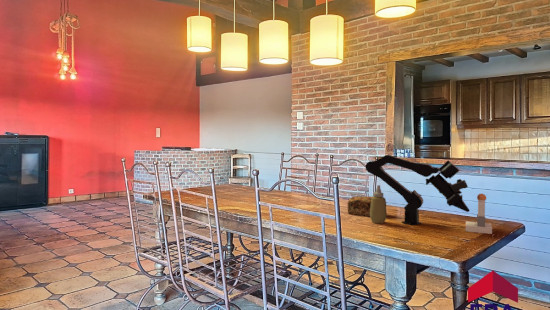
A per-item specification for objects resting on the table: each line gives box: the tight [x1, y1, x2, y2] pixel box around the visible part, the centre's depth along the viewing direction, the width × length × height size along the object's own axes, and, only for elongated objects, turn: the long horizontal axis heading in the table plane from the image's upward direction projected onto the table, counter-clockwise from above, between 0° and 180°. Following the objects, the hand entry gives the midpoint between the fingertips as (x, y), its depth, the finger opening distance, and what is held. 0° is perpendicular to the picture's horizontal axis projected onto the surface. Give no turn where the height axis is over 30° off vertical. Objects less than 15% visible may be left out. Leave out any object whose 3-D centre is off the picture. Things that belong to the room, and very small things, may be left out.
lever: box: [476, 193, 487, 218], centre depth 164 cm, size 4×5×14 cm
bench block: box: [465, 213, 493, 235], centre depth 165 cm, size 10×10×6 cm
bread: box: [347, 195, 386, 217], centre depth 199 cm, size 19×11×10 cm, turn 58°
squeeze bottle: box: [369, 185, 388, 224], centre depth 180 cm, size 8×8×18 cm
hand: (468, 211), depth 166 cm, fingers closed
